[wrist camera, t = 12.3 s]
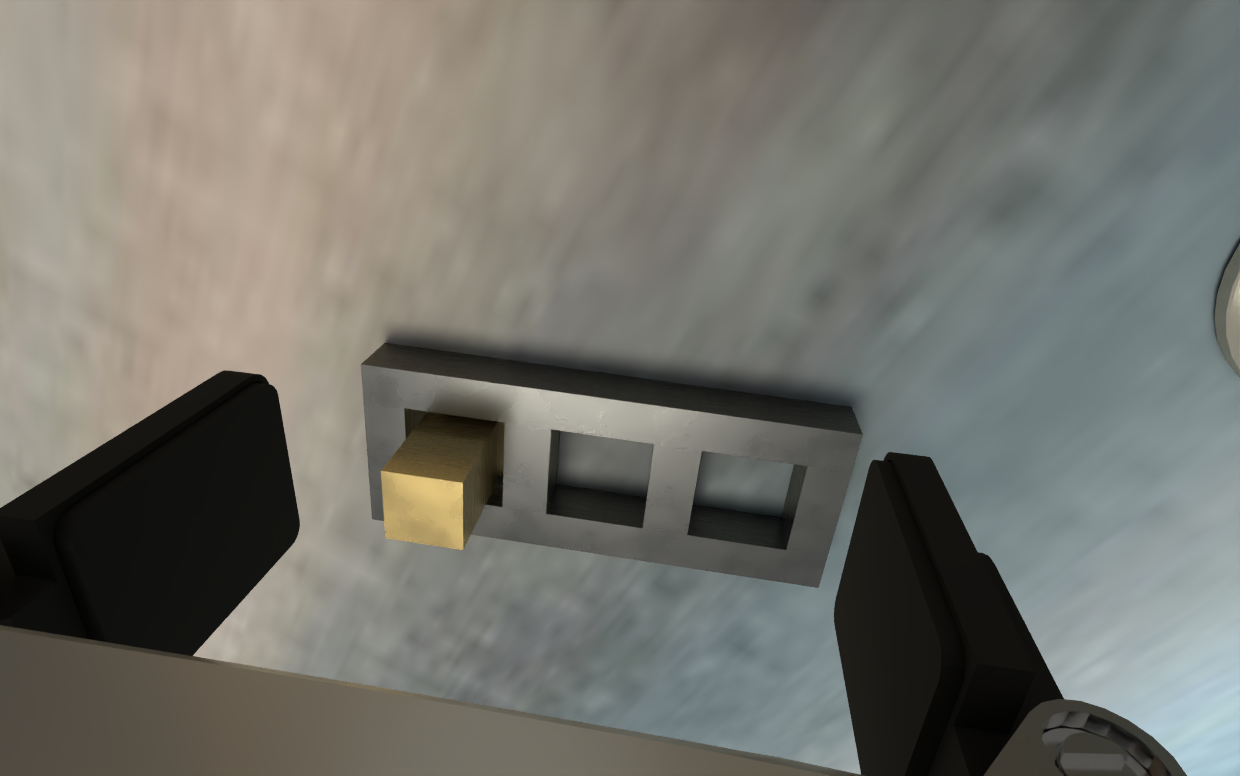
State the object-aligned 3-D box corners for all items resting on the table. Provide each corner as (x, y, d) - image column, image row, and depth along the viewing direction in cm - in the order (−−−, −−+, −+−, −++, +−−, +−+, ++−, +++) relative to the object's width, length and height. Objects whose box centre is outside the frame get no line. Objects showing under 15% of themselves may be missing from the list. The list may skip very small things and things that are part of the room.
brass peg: (506, 406, 40) (462, 482, 33) (505, 465, 42) (463, 550, 35) (439, 396, 40) (380, 471, 33) (440, 455, 42) (385, 538, 35)
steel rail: (851, 407, 38) (862, 434, 35) (811, 553, 42) (818, 587, 39) (384, 343, 39) (360, 364, 37) (392, 490, 44) (372, 519, 41)
